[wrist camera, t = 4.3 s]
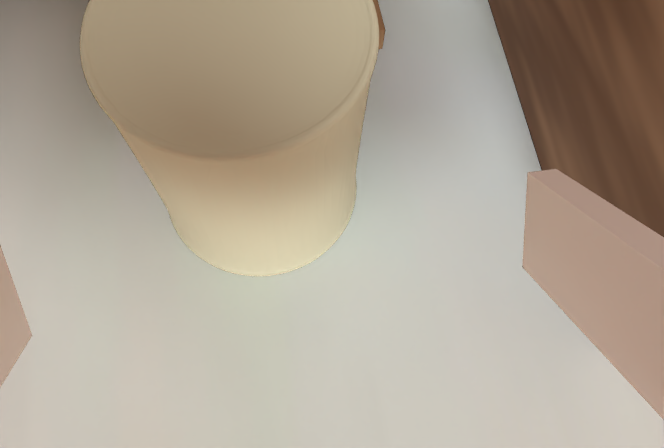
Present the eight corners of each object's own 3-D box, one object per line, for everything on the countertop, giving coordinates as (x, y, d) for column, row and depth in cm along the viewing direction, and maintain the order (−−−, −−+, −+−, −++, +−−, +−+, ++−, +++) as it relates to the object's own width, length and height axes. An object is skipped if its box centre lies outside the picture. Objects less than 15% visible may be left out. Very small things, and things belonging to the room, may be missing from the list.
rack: (-92, 456, 23) (-460, 461, 12) (-43, -27, 33) (-230, -276, 21) (629, 342, 26) (867, 261, 15) (488, -76, 35) (570, -321, 24)
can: (332, 92, 30) (343, -115, 19) (376, 254, 27) (420, 119, 16) (156, 123, 29) (60, -76, 18) (180, 296, 26) (81, 182, 15)
